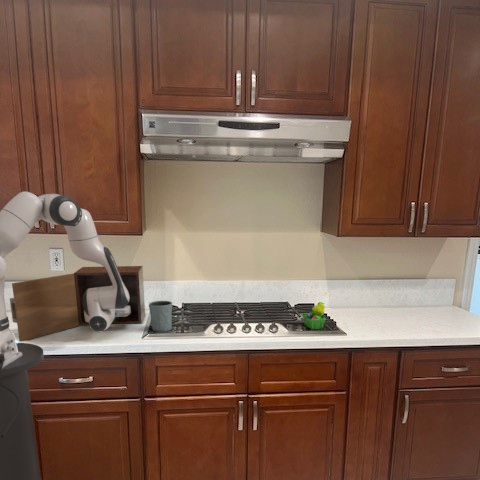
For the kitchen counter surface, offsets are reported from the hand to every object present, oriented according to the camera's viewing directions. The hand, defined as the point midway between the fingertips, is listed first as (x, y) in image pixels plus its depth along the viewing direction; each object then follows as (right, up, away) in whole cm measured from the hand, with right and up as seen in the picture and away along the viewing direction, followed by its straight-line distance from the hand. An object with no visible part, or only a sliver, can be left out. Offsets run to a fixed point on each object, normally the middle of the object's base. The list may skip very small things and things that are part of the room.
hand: (110, 307), depth 216 cm
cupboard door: (-24, -11, -13) cm, 30 cm away
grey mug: (+25, -10, -9) cm, 29 cm away
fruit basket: (+94, -9, -5) cm, 95 cm away
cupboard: (0, -6, +7) cm, 9 cm away
